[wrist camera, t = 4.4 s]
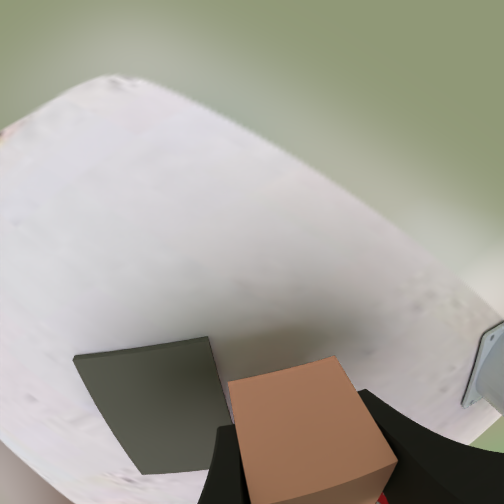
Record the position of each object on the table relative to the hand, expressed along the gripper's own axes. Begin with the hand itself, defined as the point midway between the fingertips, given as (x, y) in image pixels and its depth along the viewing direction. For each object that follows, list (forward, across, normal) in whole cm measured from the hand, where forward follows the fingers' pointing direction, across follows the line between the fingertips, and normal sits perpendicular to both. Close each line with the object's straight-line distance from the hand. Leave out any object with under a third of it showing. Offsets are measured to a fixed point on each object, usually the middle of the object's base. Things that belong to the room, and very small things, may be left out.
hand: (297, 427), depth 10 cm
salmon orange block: (+2, 0, +3) cm, 4 cm away
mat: (+5, +6, +3) cm, 9 cm away
